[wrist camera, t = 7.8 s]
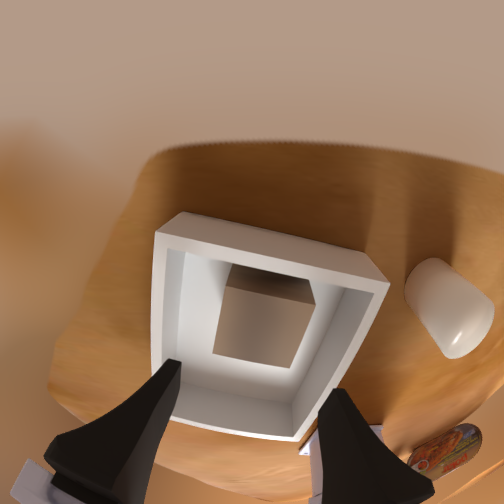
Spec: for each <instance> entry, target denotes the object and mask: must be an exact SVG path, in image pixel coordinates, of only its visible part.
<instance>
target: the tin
mask: <svg viewBox="0 0 504 504" xmlns="http://www.w3.org/2000/svg"><path fill="white" fill-rule="evenodd" d="M481 444H482V434H481V431H480V429H479V428H478V427H477V426H475V425H473V424H469V423H465V424H460V425H458V426H456V427H454V428H452V429H451V430H449V431H448V432H446V433H444V434H443V435H441V436H439V437H437V438H435V439H434V440H432V441H430V442H428V443H426V444H424V445H422V446H420V447H419V448H417V449H416V450H415V451H414V452H413V453H412V454H411V456H410V457H409V459H408V462H407V465H408V466H409V467H411V468H412V469H414V470H415V471H417V472H418V473H420V474H422V475H424V476H426V477H427V478H429V479H431V480H432V482H433V481H435V480H437V479H439V478H441V477H443V476H445V475H446V474H448V473H450V472H452V471H454V470H455V469H457V468H459V467H460V466H462V465H464V464H465V463H467V462H468V461H470V460H471V459H472V458H473V457H474V456H475V455H476V453H478V451H479V449H480V447H481Z"/></svg>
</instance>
